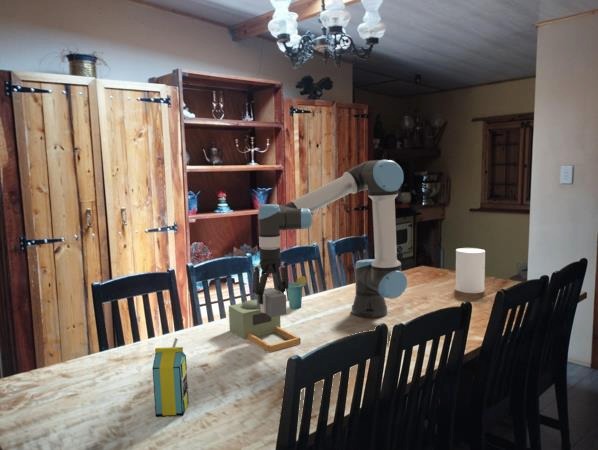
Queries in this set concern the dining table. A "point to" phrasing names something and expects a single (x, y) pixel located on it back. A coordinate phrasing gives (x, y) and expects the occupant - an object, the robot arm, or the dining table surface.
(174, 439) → the dining table surface
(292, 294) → the cup
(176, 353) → the carton
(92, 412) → the dining table surface
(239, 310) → the green box with frame
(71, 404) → the dining table surface
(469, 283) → the canister
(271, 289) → the grey concrete block
